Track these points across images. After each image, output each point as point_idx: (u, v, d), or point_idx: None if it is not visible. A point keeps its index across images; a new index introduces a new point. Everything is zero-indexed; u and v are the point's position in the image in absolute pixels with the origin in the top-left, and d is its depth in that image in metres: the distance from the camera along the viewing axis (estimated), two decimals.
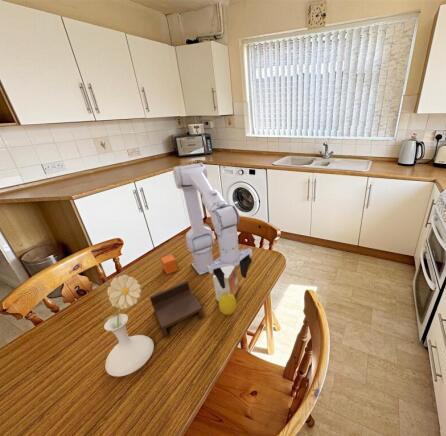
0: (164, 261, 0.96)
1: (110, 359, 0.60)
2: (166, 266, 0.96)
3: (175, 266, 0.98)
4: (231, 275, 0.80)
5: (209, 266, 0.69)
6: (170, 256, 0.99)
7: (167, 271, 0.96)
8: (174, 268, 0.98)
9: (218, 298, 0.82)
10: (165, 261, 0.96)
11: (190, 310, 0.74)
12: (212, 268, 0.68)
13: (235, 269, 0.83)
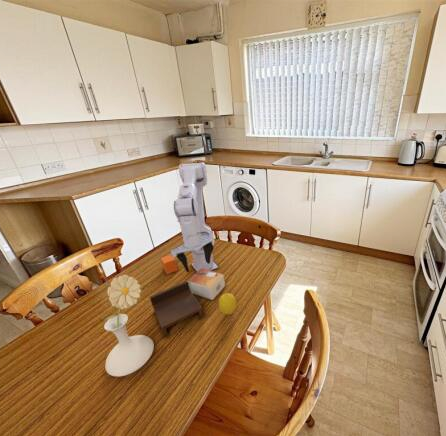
0: (164, 261, 0.96)
1: (110, 359, 0.60)
2: (166, 266, 0.96)
3: (175, 266, 0.98)
4: (193, 276, 0.86)
5: (173, 251, 0.77)
6: (170, 256, 0.99)
7: (167, 271, 0.96)
8: (174, 268, 0.98)
9: (209, 297, 0.83)
10: (165, 261, 0.96)
11: (190, 310, 0.74)
12: (175, 252, 0.77)
13: (199, 271, 0.89)
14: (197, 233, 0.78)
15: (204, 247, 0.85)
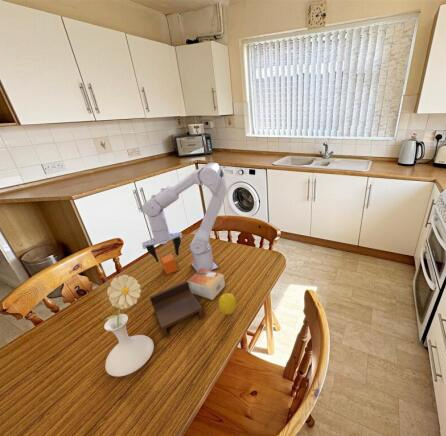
0: (164, 261, 0.96)
1: (110, 359, 0.60)
2: (166, 266, 0.96)
3: (175, 266, 0.98)
4: (193, 276, 0.86)
5: (143, 243, 0.90)
6: (170, 256, 0.99)
7: (167, 271, 0.96)
8: (174, 268, 0.98)
9: (209, 297, 0.83)
10: (165, 261, 0.96)
11: (190, 310, 0.74)
12: (145, 245, 0.90)
13: (199, 271, 0.89)
14: (164, 229, 0.90)
15: (173, 241, 0.97)
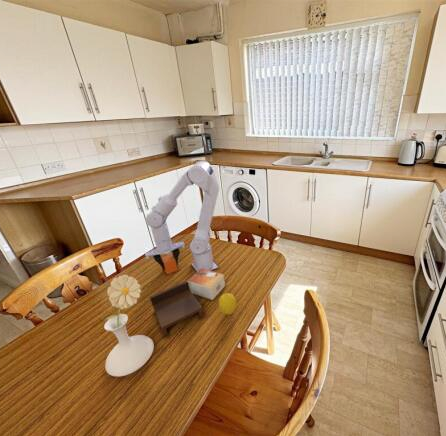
0: (164, 261, 0.96)
1: (110, 359, 0.60)
2: (166, 266, 0.96)
3: (175, 266, 0.98)
4: (193, 276, 0.86)
5: (146, 253, 0.92)
6: (170, 256, 0.99)
7: (167, 271, 0.96)
8: (174, 267, 0.98)
9: (209, 297, 0.83)
10: (165, 261, 0.96)
11: (190, 310, 0.74)
12: (148, 255, 0.92)
13: (199, 271, 0.89)
14: (167, 239, 0.92)
15: (172, 252, 0.98)
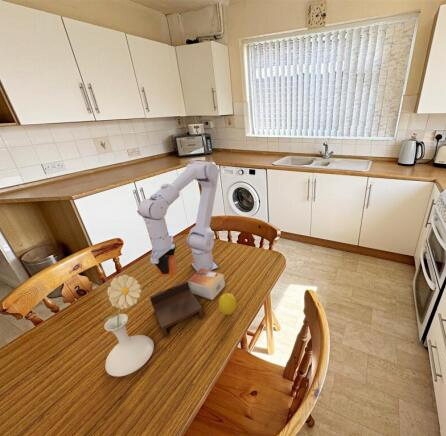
0: None
1: (110, 359, 0.60)
2: (172, 265, 0.81)
3: (176, 263, 0.84)
4: (193, 276, 0.86)
5: (153, 257, 0.73)
6: None
7: (174, 271, 0.82)
8: (176, 265, 0.84)
9: (209, 297, 0.83)
10: None
11: (190, 310, 0.74)
12: (158, 257, 0.73)
13: (199, 271, 0.89)
14: None
15: None
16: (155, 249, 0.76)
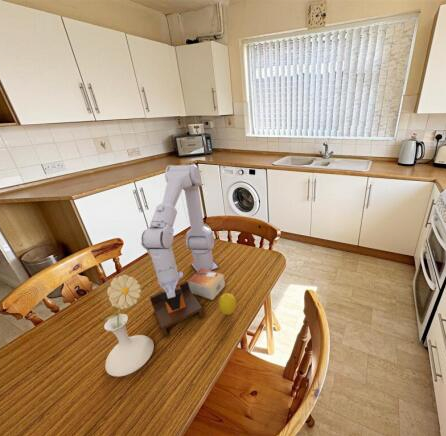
0: None
1: (110, 359, 0.60)
2: (182, 296, 0.74)
3: None
4: (193, 276, 0.86)
5: (170, 291, 0.65)
6: None
7: None
8: None
9: (209, 297, 0.83)
10: None
11: (190, 310, 0.74)
12: (174, 290, 0.66)
13: (199, 271, 0.89)
14: None
15: None
16: (164, 282, 0.68)
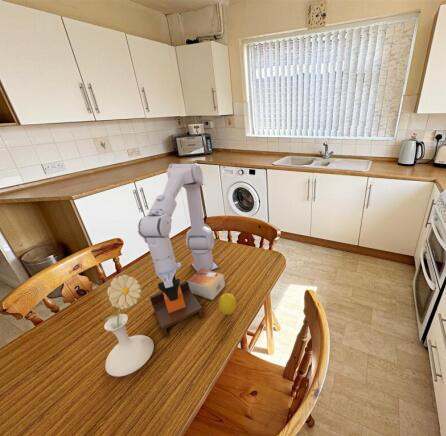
0: None
1: (110, 359, 0.60)
2: (182, 296, 0.74)
3: None
4: (193, 276, 0.86)
5: (168, 280, 0.64)
6: None
7: None
8: None
9: (209, 297, 0.83)
10: None
11: (190, 310, 0.74)
12: (171, 279, 0.65)
13: (199, 271, 0.89)
14: None
15: None
16: (162, 272, 0.67)
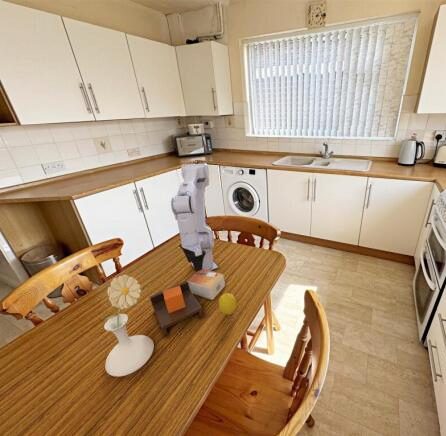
0: (177, 294, 0.73)
1: (110, 359, 0.60)
2: (182, 296, 0.74)
3: None
4: (193, 276, 0.86)
5: (197, 249, 0.76)
6: (168, 290, 0.74)
7: None
8: None
9: (209, 297, 0.83)
10: (177, 293, 0.73)
11: (190, 310, 0.74)
12: (200, 249, 0.77)
13: (199, 271, 0.89)
14: None
15: None
16: (190, 244, 0.78)
